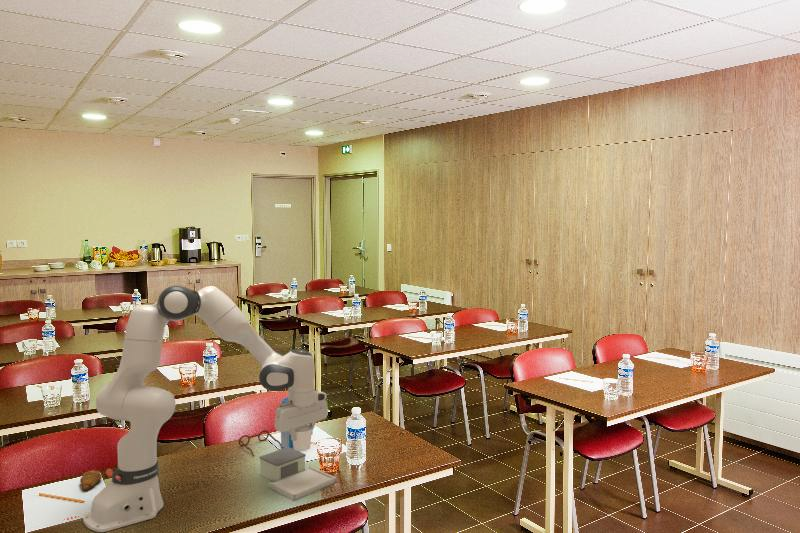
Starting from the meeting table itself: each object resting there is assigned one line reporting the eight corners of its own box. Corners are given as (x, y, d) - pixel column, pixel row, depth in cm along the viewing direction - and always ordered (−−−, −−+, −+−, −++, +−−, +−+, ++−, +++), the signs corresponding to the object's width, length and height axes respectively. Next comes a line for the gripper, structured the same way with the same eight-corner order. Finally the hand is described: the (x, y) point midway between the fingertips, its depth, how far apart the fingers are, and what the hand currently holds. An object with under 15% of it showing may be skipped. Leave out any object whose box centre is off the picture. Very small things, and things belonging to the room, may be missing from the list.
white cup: (314, 444, 204) (314, 424, 204) (308, 452, 198) (308, 431, 197) (295, 443, 205) (295, 423, 205) (288, 451, 199) (288, 430, 198)
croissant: (97, 492, 197) (96, 477, 197) (74, 494, 196) (74, 479, 195) (106, 475, 211) (106, 461, 210) (85, 477, 209) (85, 463, 209)
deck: (294, 500, 191) (294, 480, 190) (250, 478, 208) (250, 459, 207) (336, 482, 204) (336, 463, 204) (292, 462, 221) (291, 445, 220)
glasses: (268, 440, 245) (267, 428, 244) (283, 449, 235) (283, 437, 234) (238, 448, 236) (237, 435, 236) (253, 458, 226) (253, 445, 226)
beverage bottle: (276, 452, 231) (276, 401, 229) (286, 444, 239) (285, 395, 237) (297, 454, 229) (296, 403, 227) (305, 446, 237) (305, 397, 235)
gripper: (282, 406, 190) (282, 448, 191) (330, 393, 205) (330, 432, 206) (270, 402, 194) (270, 443, 196) (318, 389, 210) (318, 427, 211)
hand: (301, 437), depth 201 cm, fingers closed on white cup, 5 cm apart
